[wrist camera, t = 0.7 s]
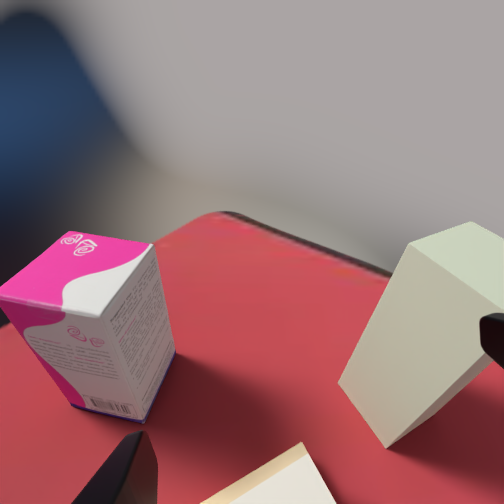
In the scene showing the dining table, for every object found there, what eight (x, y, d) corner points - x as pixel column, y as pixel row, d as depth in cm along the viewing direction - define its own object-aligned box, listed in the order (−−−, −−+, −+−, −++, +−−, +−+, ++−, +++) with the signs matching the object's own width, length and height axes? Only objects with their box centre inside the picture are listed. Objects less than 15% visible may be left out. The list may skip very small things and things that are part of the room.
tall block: (434, 414, 22) (580, 281, 13) (385, 448, 20) (517, 320, 11) (383, 358, 25) (471, 221, 16) (337, 382, 23) (408, 243, 14)
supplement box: (178, 350, 25) (158, 241, 17) (144, 426, 20) (98, 323, 13) (114, 336, 25) (67, 226, 18) (67, 406, 21) (-20, 298, 13)
